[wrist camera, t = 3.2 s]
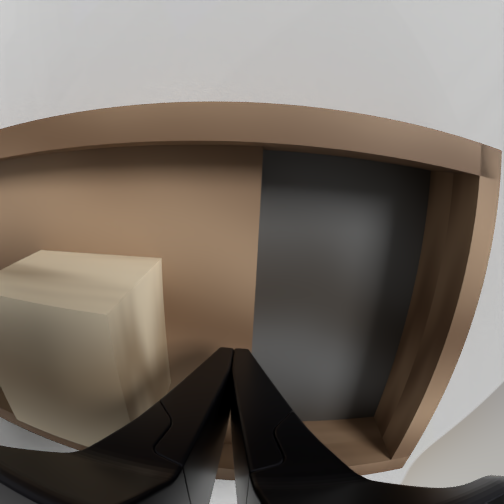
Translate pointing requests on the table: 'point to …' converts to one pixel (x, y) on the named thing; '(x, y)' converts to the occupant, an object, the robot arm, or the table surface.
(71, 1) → the table surface
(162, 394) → the beech block
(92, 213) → the tray
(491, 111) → the table surface
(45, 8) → the table surface
